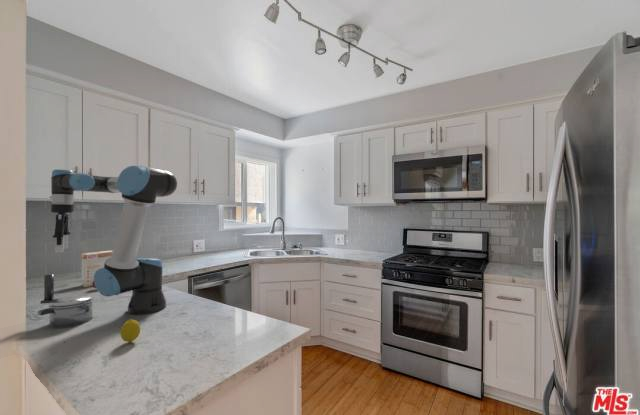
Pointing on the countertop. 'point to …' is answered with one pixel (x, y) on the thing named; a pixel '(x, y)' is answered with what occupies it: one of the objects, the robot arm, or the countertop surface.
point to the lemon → (130, 330)
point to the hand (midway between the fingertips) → (61, 250)
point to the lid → (63, 300)
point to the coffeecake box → (92, 265)
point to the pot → (69, 314)
